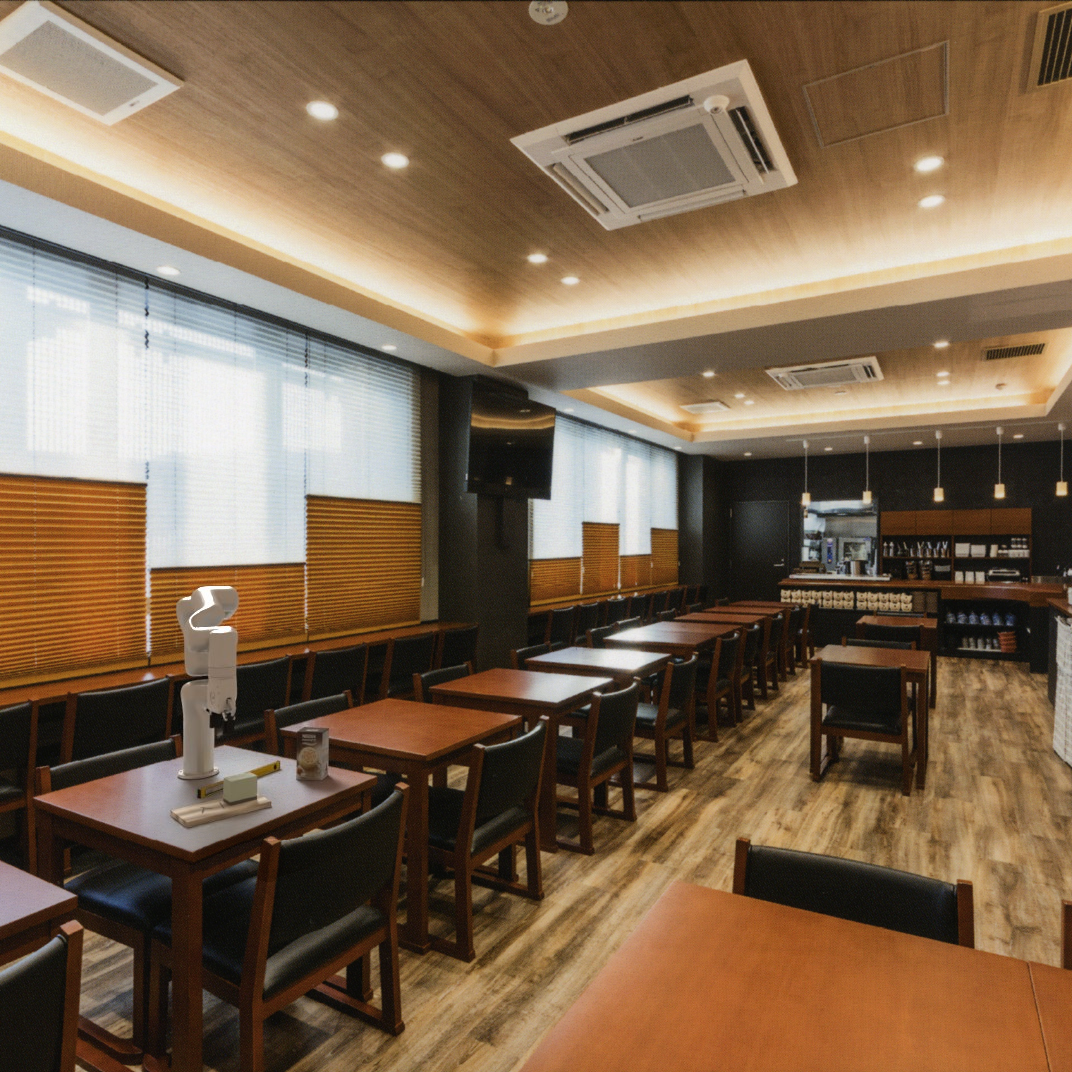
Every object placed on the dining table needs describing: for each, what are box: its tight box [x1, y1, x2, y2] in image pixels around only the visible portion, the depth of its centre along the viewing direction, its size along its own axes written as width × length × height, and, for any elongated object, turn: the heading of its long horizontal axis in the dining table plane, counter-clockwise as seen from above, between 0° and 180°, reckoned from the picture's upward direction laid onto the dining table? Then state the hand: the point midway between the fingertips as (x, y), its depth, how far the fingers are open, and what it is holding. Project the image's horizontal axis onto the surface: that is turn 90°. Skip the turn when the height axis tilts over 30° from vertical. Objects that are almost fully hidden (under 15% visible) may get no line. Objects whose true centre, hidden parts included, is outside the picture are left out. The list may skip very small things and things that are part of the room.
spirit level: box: [196, 760, 281, 799], centre depth 240 cm, size 33×1×3 cm, turn 156°
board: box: [170, 792, 272, 829], centre depth 215 cm, size 13×24×2 cm, turn 134°
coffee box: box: [295, 726, 330, 781], centre depth 246 cm, size 9×6×16 cm
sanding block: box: [222, 771, 258, 806], centre depth 219 cm, size 5×8×7 cm, turn 135°
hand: (221, 730), depth 215 cm, fingers open, 9 cm apart
